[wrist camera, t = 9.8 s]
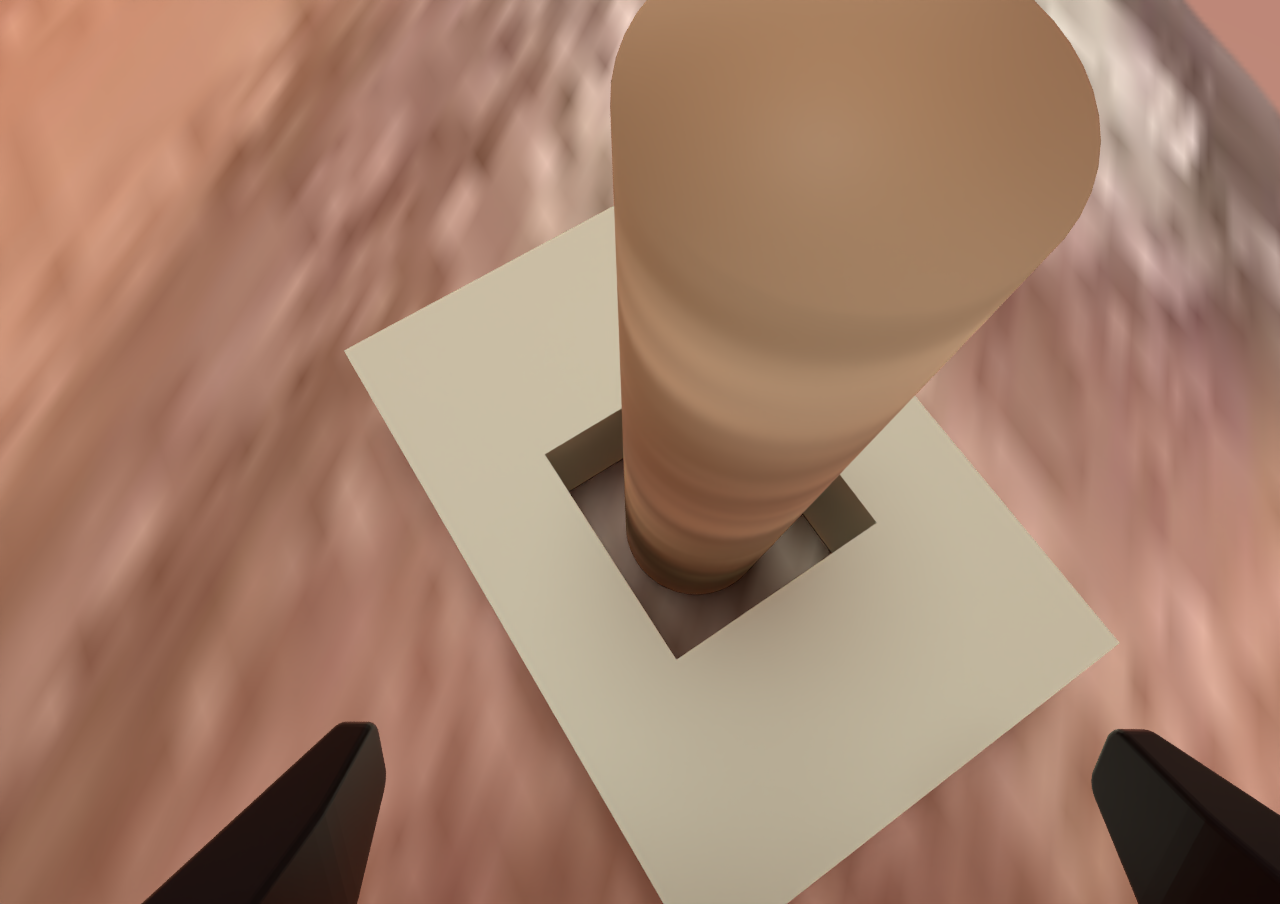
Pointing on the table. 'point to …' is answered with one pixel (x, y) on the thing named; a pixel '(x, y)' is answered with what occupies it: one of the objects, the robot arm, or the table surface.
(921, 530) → the socket block
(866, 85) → the peg
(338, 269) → the table surface
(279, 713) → the table surface
